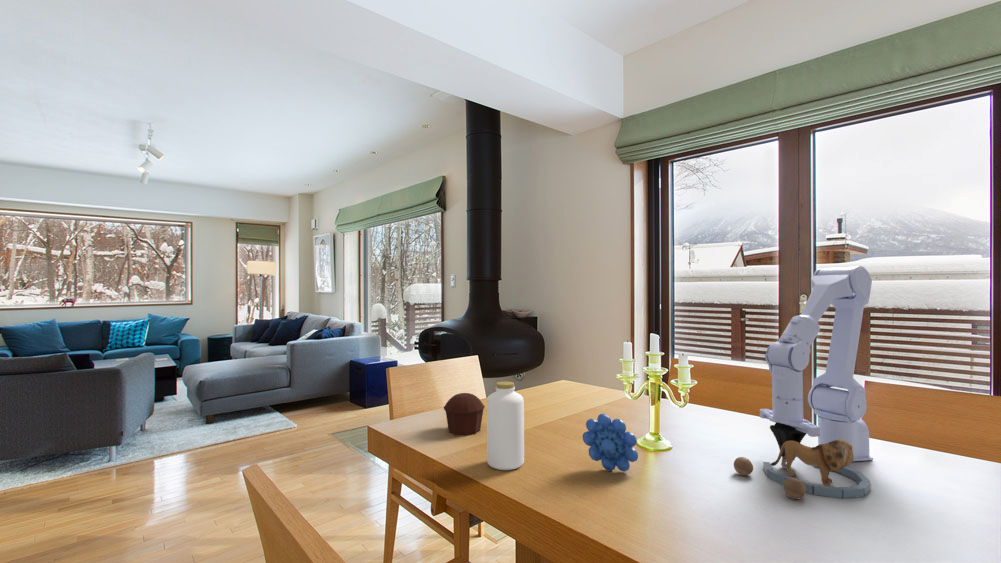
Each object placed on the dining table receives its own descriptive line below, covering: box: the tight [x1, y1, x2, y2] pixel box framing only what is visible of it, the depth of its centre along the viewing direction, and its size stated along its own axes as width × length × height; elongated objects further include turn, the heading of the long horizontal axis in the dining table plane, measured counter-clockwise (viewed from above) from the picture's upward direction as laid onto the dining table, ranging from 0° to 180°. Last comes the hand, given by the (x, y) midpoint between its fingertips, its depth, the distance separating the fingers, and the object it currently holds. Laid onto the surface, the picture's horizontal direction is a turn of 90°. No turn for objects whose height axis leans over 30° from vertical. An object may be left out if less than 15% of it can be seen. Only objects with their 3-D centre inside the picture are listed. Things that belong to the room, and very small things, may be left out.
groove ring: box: [762, 461, 872, 499], centre depth 91 cm, size 17×15×2 cm
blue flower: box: [582, 413, 639, 472], centre depth 95 cm, size 12×7×12 cm, turn 70°
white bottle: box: [486, 381, 525, 471], centre depth 100 cm, size 8×8×18 cm
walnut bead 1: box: [733, 456, 754, 476], centre depth 94 cm, size 4×4×4 cm
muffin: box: [443, 392, 486, 437], centre depth 124 cm, size 12×11×10 cm
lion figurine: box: [770, 439, 854, 486], centre depth 92 cm, size 15×5×9 cm, turn 42°
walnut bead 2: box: [782, 477, 807, 500], centre depth 83 cm, size 4×4×4 cm
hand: (788, 459), depth 98 cm, fingers closed
